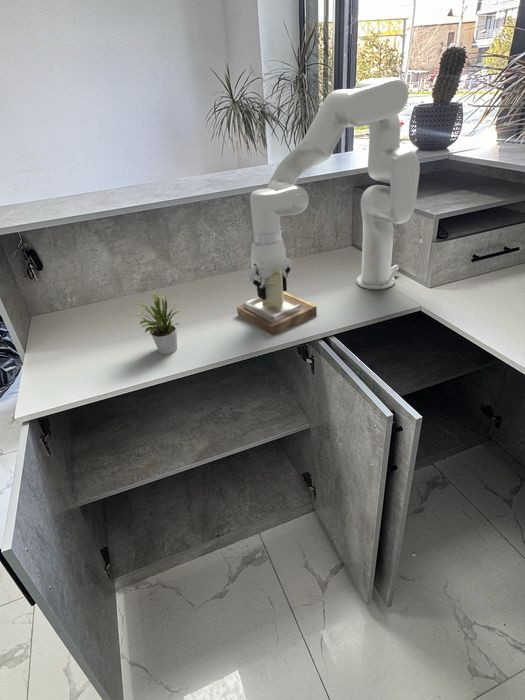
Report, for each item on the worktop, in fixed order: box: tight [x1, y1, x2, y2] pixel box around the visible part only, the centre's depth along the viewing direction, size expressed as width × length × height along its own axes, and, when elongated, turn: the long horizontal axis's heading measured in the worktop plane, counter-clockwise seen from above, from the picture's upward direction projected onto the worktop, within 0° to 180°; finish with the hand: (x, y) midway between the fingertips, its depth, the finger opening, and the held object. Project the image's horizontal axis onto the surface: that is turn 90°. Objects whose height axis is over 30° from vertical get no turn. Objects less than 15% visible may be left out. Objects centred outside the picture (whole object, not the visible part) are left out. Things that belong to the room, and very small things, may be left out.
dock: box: [236, 291, 318, 337], centre depth 134 cm, size 17×18×4 cm
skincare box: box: [260, 266, 284, 306], centre depth 129 cm, size 6×4×12 cm
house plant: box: [131, 291, 181, 355], centre depth 120 cm, size 14×14×16 cm
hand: (272, 293), depth 131 cm, fingers closed on skincare box, 7 cm apart
